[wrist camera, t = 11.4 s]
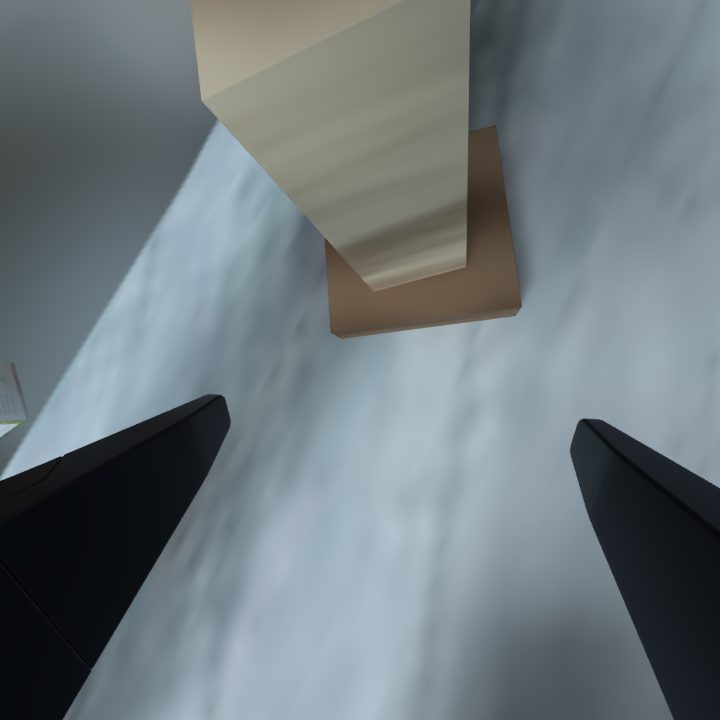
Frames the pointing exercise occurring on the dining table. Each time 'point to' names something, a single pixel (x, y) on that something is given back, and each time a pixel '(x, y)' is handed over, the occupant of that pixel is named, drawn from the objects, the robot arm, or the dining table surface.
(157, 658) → the dining table surface
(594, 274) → the dining table surface
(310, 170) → the maple block
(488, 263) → the walnut block
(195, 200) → the dining table surface
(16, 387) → the syrup box
